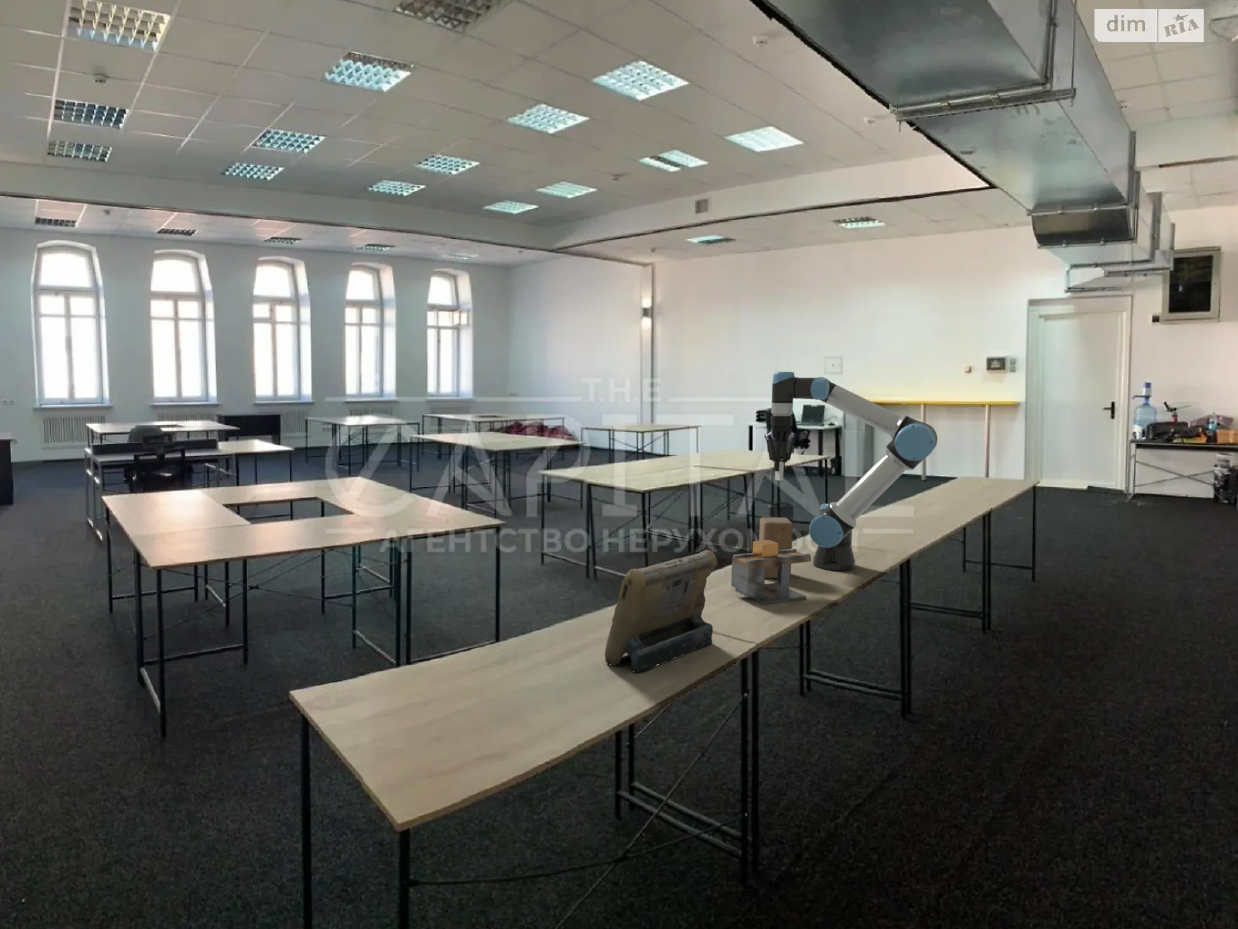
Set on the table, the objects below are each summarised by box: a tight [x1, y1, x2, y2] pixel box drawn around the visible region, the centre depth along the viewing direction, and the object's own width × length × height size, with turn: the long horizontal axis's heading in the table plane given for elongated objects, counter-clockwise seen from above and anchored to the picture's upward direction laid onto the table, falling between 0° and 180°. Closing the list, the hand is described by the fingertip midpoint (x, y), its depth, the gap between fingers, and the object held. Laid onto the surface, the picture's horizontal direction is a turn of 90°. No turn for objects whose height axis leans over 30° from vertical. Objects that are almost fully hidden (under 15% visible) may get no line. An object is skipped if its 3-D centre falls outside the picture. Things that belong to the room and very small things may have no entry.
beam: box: [730, 548, 812, 594], centre depth 243 cm, size 24×9×10 cm, turn 114°
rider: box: [752, 540, 778, 559], centre depth 241 cm, size 6×5×5 cm
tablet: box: [604, 549, 718, 673], centre depth 192 cm, size 33×14×25 cm, turn 141°
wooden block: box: [758, 516, 794, 579], centre depth 266 cm, size 10×10×20 cm
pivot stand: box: [735, 562, 807, 606], centre depth 243 cm, size 16×16×12 cm
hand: (778, 480), depth 274 cm, fingers closed
